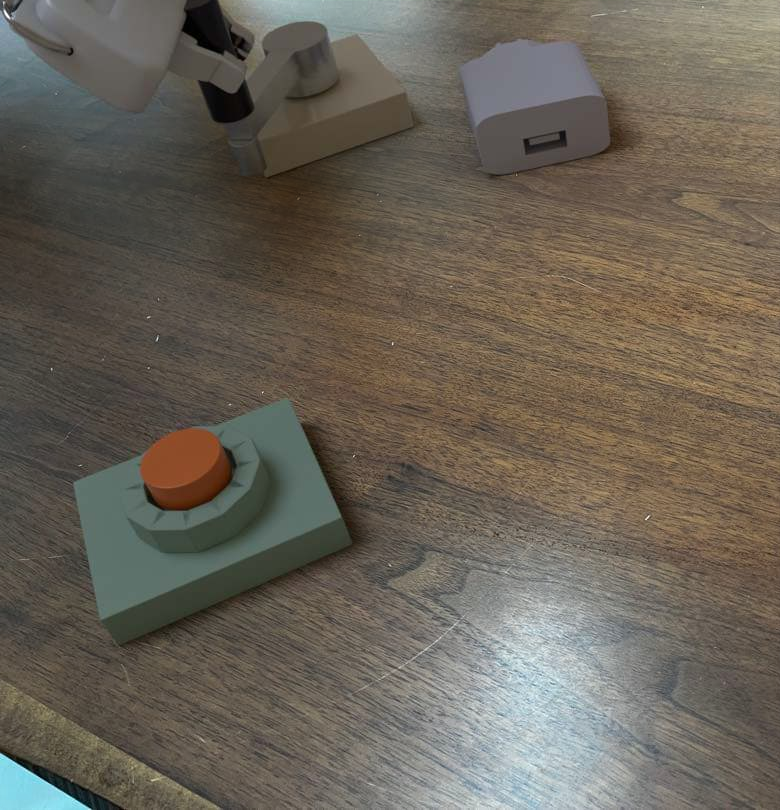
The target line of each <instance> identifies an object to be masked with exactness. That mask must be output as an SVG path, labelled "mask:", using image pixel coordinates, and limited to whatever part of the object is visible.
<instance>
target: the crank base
mask: <svg viewBox="0 0 780 810" xmlns="http://www.w3.org/2000/svg"><path fill="white" fill-rule="evenodd" d="M330 43H331V46H332V50H333V53H334V57H335V61H336V64H337V68H338V72H339V78H338V80H337V81H336V83H335V84H334V85H333V86H331V87H330V88H328V89H326V90H325V91H322V92H320V93H317V94H314V95H311V96H306V97H287V96H286V98H285V99H284V100H283V102H282V103H281V104H280V106H279V107H278V108H277V110H276V111H275V112H274V114H273V115H272V116H271V118H270V119H269V120H268V121H267V123H266V124H265V125H264V127H263V128H262V129H261V131H260V132H259V133H258V135H257V137H258V140H259V143H260V146H261V149H262V152H263V154H264V157H265V160H266V163H267V168H266V169H265V170H264V171H263V172H262V174H263V176H264V177H265V179H266V178H269V177H272V176H276V175H279V174H282V173H284V172H287V171H289V170H292V169H295V168H298V167H301V166H304V165H308V164H310V163H313V162H316V161H318V160H321V159H324V158H328V157H330V156H333V155H335V154H338V153H341V152H344V151H347V150H351V149H353V148H356V147H359V146H362V145H364V144H367V143H370V142H373V141H377V140H380V139H382V138H385V137H389V136H390V135H393V134H396V133H399V132H402V131H406V130H407V129H411V128H413V127H414V121H413V116H412V112H411V107H410V103H409V99H408V94H407V91H406V90H405V89H404V88H403V86H402V85H401V83H399V82H398V80H397V79H396V78H395V76H394V75H393V74H391V72H390V71H389V70H388V68H386V67H385V65H384V63H382V61H380V59H379V58H378V57H377V56H376V55H375V53H374V52H373V51H372V50H371V49H370V47H369V46H368V45H367V44H366V43H365V41H364V40H363V39H362V38H361V36H360V35H358V33H356V34H352V35H350V36H346V37H344V38H341V39H337V40H334V41H330ZM258 66H259V65H257V66H254V67H251V68H247V70H246V74H245V80H246V81H247V79H248V78H249V77H250V76H251V75H252V73H253V72H254V71H255V70H256V68H257V67H258Z"/></svg>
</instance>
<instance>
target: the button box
mask: <svg viewBox="0 0 780 810" xmlns="http://www.w3.org/2000/svg"><path fill="white" fill-rule="evenodd" d="M192 428H198V429H204V430H207V431H210V432H211V433H213V434H214V435H216V436H217V438H218V439H219V441H220V443H221V445H222V447H223V449H224V451H225V453H226V455H227V457H228V459H229V461H230V464H231V467H232V474H231V478H230V481H229V483H228V485H227V486H226V488H225V489H224V490H222V491H221V492H220V493H219V494H218V495H217V496H216V497H215V498H214V499H213V500H212V501H210V502H207V503H205V504H203V505H200V506H198V507H195V508H193V509H190V510H187V511H172V510H168V509H165V508H163V507H162V506H160V505H159V504H158V503H157V502H156V501H155V499H154V498H153V496H152V494H151V492H150V491H149V489H148V487H147V485H146V484H145V482H144V480H143V478H142V476H141V472H140V466H141V462H142V459H143V457H144V455H145V454H146V452H147V451H148V450H149V449H150V447H149V448H148V449H147V450H145V451H144V452H143V453H142V454H141V455H138V456H136V457H133V458H130V459H128V460H126V461H123V462H121V463H118V464H115V465H113V466H110V467H108V468H105V469H103V470H101V471H97V472H95V473H93V474H90V475H87V476H84V477H82V478H80V479H78V480H75V481H73V482H72V484H73V490H74V493H75V494H74V496H75V500H76V504H77V505H76V506H77V510H78V516H79V521H80V525H81V530H82V535H83V541H84V545H85V551H86V556H87V562H88V566H89V570H90V576H91V581H92V586H93V591H94V596H95V602H96V607H97V611H98V617H99V621H100V622H101V625H102V626H103V627H104V628H105V630H106V631H107V632H108V634H109V635H110V637H111V638H112V639H113V641H114V642H115V643H116V645H117V646H119V647H120V646H122V645H124V644H127V643H129V642H131V641H133V640H135V639H138V638H140V637H143V636H146V635H147V634H149V633H152V632H154V631H156V630H159V629H162V628H163V627H166V626H168V625H170V624H172V623H175V622H178V621H179V620H182V619H185V618H187V617H189V616H191V615H194V614H196V613H198V612H200V611H202V610H205V609H207V608H209V607H212V606H214V605H217V604H219V603H221V602H224V601H226V600H228V599H231V598H232V597H235V596H237V595H239V594H242V593H244V592H246V591H249V590H251V589H253V588H256V587H258V586H260V585H262V584H265V583H268V582H270V581H272V580H274V579H276V578H279V577H281V576H283V575H285V574H287V573H290V572H292V571H294V570H297V569H299V568H302V567H304V566H306V565H309V564H311V563H314V562H315V561H318V560H320V559H322V558H325V557H327V556H329V555H331V554H333V553H337V552H339V551H341V550H344V549H346V548H347V547H350V546H352V545H353V540H352V538H351V536H350V533H349V531H348V528H347V526H346V523H345V521H344V518H343V515H342V513H341V511H340V509H339V507H338V505H337V503H336V500H335V497H334V495H333V493H332V491H331V489H330V487H329V484H328V482H327V480H326V477H325V475H324V472H323V471H322V468H321V466H320V463H319V461H318V460H317V457H316V455H315V452H314V449H313V448H312V446H311V444H310V441H309V439H308V437H307V434H306V433H305V430H304V428H303V426H302V424H301V421H300V419H299V416H298V414H297V412H296V410H295V408H294V406H293V403H292V401H291V398H290V396H287V397H284V398H282V399H280V400H277V401H274V402H272V403H269V404H267V405H264V406H262V407H259V408H257V409H254V410H252V411H248V412H246V413H243V414H242V415H238V416H236V417H234V418H232V419H228V420H227V421H224V422H221V423H219V424H216V425H195V426H192V427H188V429H192Z"/></svg>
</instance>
